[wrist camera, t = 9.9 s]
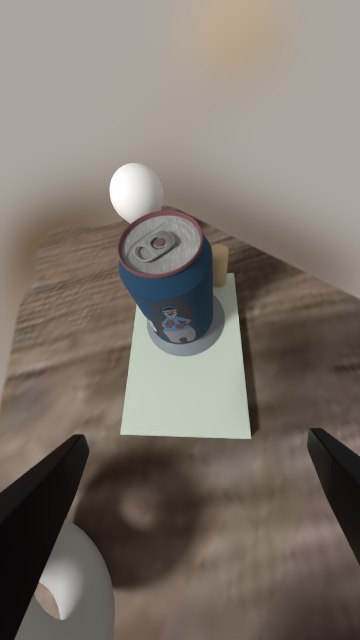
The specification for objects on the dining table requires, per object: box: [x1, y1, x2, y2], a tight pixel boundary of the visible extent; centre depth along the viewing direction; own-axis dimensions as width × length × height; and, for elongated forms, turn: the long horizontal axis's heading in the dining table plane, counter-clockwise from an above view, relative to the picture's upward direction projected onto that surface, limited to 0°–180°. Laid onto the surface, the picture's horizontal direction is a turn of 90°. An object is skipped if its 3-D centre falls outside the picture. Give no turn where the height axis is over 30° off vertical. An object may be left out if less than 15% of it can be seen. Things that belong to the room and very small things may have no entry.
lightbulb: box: [110, 163, 163, 223], centre depth 28 cm, size 6×6×11 cm
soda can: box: [118, 210, 213, 344], centre depth 20 cm, size 7×7×12 cm
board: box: [120, 244, 251, 439], centre depth 22 cm, size 18×12×6 cm, turn 179°
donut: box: [15, 519, 115, 640], centre depth 14 cm, size 10×3×10 cm, turn 52°
